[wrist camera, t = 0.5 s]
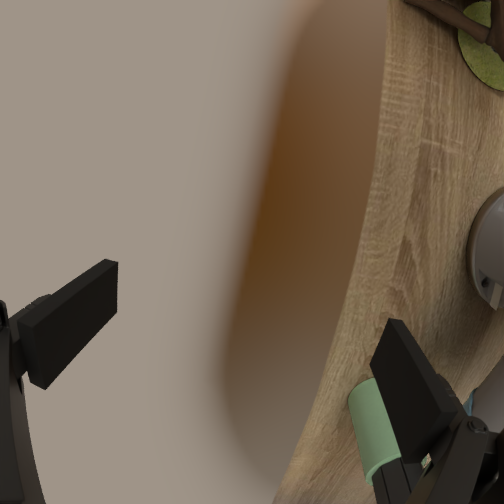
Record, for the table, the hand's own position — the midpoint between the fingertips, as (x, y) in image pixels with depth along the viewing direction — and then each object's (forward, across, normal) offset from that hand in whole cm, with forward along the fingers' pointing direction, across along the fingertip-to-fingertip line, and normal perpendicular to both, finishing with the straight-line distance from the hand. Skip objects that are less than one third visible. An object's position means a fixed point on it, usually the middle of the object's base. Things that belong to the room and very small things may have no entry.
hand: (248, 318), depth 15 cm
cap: (+6, +19, -19) cm, 28 cm away
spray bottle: (+19, +19, -19) cm, 33 cm away
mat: (+19, +22, +28) cm, 41 cm away
